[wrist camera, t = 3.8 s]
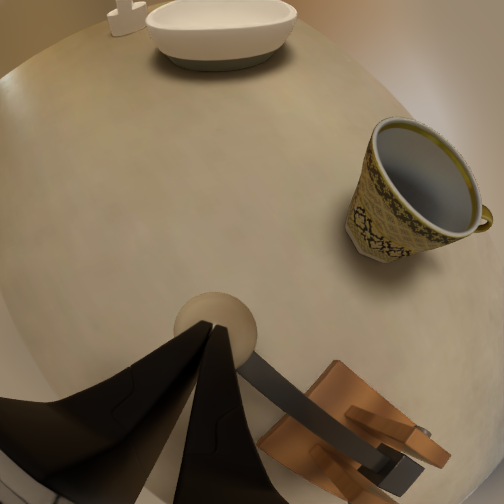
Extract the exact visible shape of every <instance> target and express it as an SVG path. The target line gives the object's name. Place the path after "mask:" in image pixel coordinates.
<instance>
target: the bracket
mask: <svg viewBox="0 0 504 504" xmlns="http://www.w3.org/2000/svg"><path fill="white" fill-rule="evenodd" d="M304 395H306V396H307V397H308V398H309V399H311V400H312V401H313V402H314V403H316V404H317V405H318V406H319V407H321V408H322V409H323V410H324V411H326V412H327V413H328V414H330V415H331V416H332V417H333V418H335V419H336V420H337V421H339V422H340V423H341V424H343V425H344V426H345V427H347V428H348V429H349V430H351V431H352V432H353V433H355V434H356V435H358V436H359V437H360V438H362V439H363V440H365V441H366V442H367V443H369V444H370V445H372V446H373V447H374V448H377V447H378V446H379V445H380V443H384V444H386V445H387V446H389V447H391V448H393V449H395V450H397V451H399V452H401V451H402V452H404V453H406V454H408V455H410V456H412V457H415V458H417V459H419V460H421V461H424V462H426V463H428V464H430V465H433V466H435V467H438V468H440V469H442V468H443V467H444V465H445V464H446V463H447V461H448V460H449V458H450V457H451V454H449V453H448V452H447V451H445V450H444V449H443V448H442V447H440V446H439V445H438V444H436V443H435V442H434V441H433V440H431V439H430V437H431V435H432V434H431V433H430V432H429V431H428V430H426V429H424V428H422V427H420V426H417V425H416V424H415V423H414V422H412V421H411V420H410V419H409V418H408V417H406V416H405V415H404V414H403V413H401V412H400V411H399V410H398V409H397V408H395V407H394V406H393V405H392V404H391V403H389V402H388V401H387V400H386V399H385V398H383V397H382V396H381V395H380V394H379V393H377V392H376V391H375V390H374V389H373V388H371V387H370V386H369V385H368V384H367V383H366V382H364V381H363V380H362V379H361V378H360V377H358V376H357V375H356V374H355V373H354V372H353V371H351V370H350V369H349V368H348V367H347V366H346V365H344V364H343V363H342V362H341V361H340V360H334V361H333V362H332V363H331V364H330V366H329V367H328V368H327V369H326V370H325V372H324V373H323V374H322V375H321V376H320V378H319V379H318V380H317V381H316V382H315V383H314V384H313V386H312V387H311V388H310V389H309V390H308V391H307V392H306V393H305V394H304ZM257 445H258V447H259V448H260V449H261V450H263V451H264V452H265V453H267V454H268V455H270V456H271V457H273V458H274V459H275V460H277V461H278V462H280V463H281V464H283V465H284V466H286V467H287V468H289V469H291V470H292V471H294V472H295V473H297V474H299V475H300V476H302V477H303V478H305V479H307V480H308V481H310V482H312V483H314V484H315V485H317V486H319V487H321V488H322V489H324V490H326V491H328V492H330V493H332V494H334V495H336V496H337V497H339V498H341V499H343V500H345V501H348V504H399V503H397V502H396V501H395V500H393V499H392V498H391V497H390V496H388V495H387V494H386V493H384V492H383V491H382V490H381V489H379V488H378V487H377V486H376V485H374V484H373V483H372V482H371V481H369V480H368V479H367V478H366V477H364V476H363V475H362V474H361V473H359V472H358V471H357V469H358V468H359V467H360V466H361V464H360V463H358V462H356V461H355V460H353V459H351V458H350V457H348V456H347V455H345V454H344V453H342V452H340V451H339V450H337V449H336V448H334V447H333V446H331V445H330V444H328V443H327V442H326V441H324V440H323V439H321V438H320V437H318V436H317V435H315V434H314V433H313V432H311V431H310V430H308V429H307V428H306V427H304V426H303V425H302V424H300V423H299V422H298V421H296V420H295V419H294V418H292V417H291V416H290V415H288V414H286V415H285V416H284V417H283V418H282V419H281V420H280V421H279V422H278V423H277V424H276V425H275V426H273V427H272V428H271V429H270V430H269V431H268V432H267V433H266V434H265V435H264V436H263V437H262V438H261V439H260V440H259V441H258V442H257Z"/></svg>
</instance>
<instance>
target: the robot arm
mask: <svg viewBox="0 0 504 504" xmlns="http://www.w3.org/2000/svg"><path fill="white" fill-rule="evenodd" d="M212 329H213V331H212ZM130 367H131V368H130ZM130 367H127V368H126V369H124V370H123V371H121V372H119V373H118V374H116V375H114V376H112V377H111V378H109V379H107V380H105V381H103V382H101V383H99V384H97V385H95V386H92V387H90V388H88V389H85V390H83V391H81V392H78V393H76V394H74V395H71V396H69V397H67V398H64V399H61V400H58V401H54V402H47V403H43V402H32V401H23V400H16V399H9V398H3V397H0V504H134V503H135V501H136V499H137V498H138V496H139V494H140V492H141V490H142V488H143V486H144V484H145V482H146V480H147V478H148V476H149V475H150V473H151V471H152V469H153V467H154V465H155V463H156V461H157V459H158V457H159V455H160V453H161V451H162V449H163V447H164V445H165V443H166V442H167V440H168V438H169V436H170V434H171V432H172V430H173V428H174V426H175V424H176V422H177V420H178V418H179V416H180V414H181V412H182V410H183V408H184V406H185V404H186V402H187V400H188V398H189V396H190V394H191V392H192V390H193V388H194V386H195V384H196V382H197V385H196V389H195V394H194V399H193V404H192V409H191V414H190V420H189V425H188V430H187V435H186V441H185V446H184V451H183V457H182V462H181V468H180V473H179V477H178V482H177V486H176V491H175V495H174V500H173V504H289V503H288V502H287V501H286V500H285V499H284V498H283V497H282V496H281V495H280V494H279V493H278V492H277V490H276V489H275V488H274V486H273V484H272V483H271V481H270V479H269V477H268V475H267V473H266V470H265V468H264V466H263V464H262V461H261V459H260V457H259V454H258V452H257V449H256V447H255V445H254V442H253V439H252V437H251V434H250V431H249V428H248V424H247V421H246V417H245V413H244V408H243V405H242V399H241V394H240V390H239V385H238V380H237V375H236V370H235V365H234V359H233V354H232V349H231V344H230V338H229V333H228V328H227V327H225V326H222V325H218V324H216V325H215V326H214V328H213V323H211V322H208V321H205V320H200V321H199V322H197V323H196V324H194V325H193V326H191V327H190V328H188V329H187V330H185V331H184V332H182V333H181V334H179V335H178V336H176V337H175V338H173V339H171V340H170V341H168V342H167V343H165V344H164V345H162V346H161V347H159V348H158V349H156V350H154V351H153V352H151V353H150V354H148V355H147V356H145V357H143V358H142V359H140V360H139V361H137V362H136V363H134V364H132V365H131V366H130ZM197 379H198V380H197Z"/></svg>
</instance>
